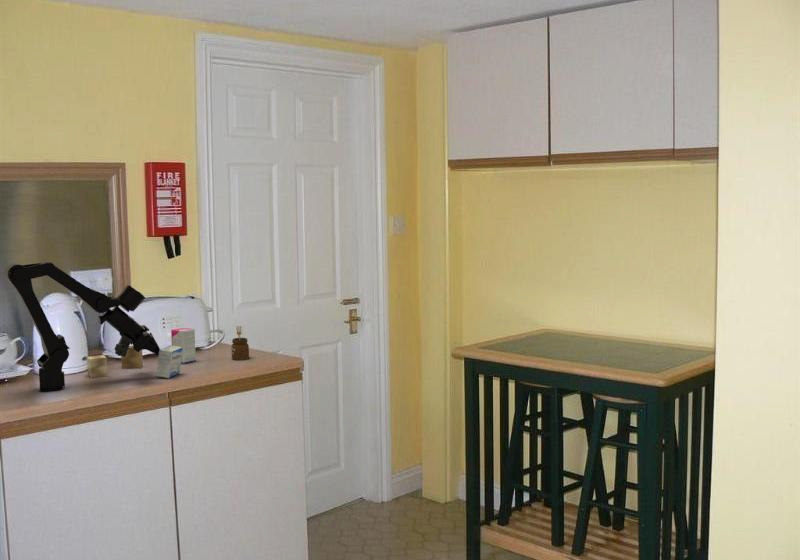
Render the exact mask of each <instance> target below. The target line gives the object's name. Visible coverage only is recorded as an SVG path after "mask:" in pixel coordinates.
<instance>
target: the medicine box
mask: <svg viewBox="0 0 800 560" xmlns="http://www.w3.org/2000/svg"><path fill="white" fill-rule="evenodd" d="M182 350H183V348H182V347H178V346H172V344H171V345H168V346H165V347H163V348H160V350H159V356H158V355H157V356H158V357H157V363H156V364H157V365H156V374H155V375H156V376H157V377H160V378H164V379H165V378H166V379H170V378H173V377H174V376H176V375H178V374H180V372H181V365H182V364H181V358H182Z"/></svg>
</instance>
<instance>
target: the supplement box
mask: <svg viewBox="0 0 800 560" xmlns="http://www.w3.org/2000/svg"><path fill="white" fill-rule="evenodd" d="M195 331H196V330H195V328H187V327H186V328H185V327H182V328H176V329H175V328H174V329H171V331H170V332H171V333H170V334H171V345H172V346H178V347H182V348H183V350H182V358H181V365H186V364H185V363H187V364H190V362H191V363H195V362H197V361H196V359H197V358H196V357H197V356H196V335H195V334H196V332H195Z"/></svg>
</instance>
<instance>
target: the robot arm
mask: <svg viewBox="0 0 800 560" xmlns="http://www.w3.org/2000/svg"><path fill="white" fill-rule="evenodd" d="M45 276H46V277H48V278H49V279H50V280H52V281H54V282H55V283H57V284H59V285H60V286H62V287H63V288H64V289H66V290H67V291H69V292H71V293H72V294H74V295H75V296H77V298H78V299H80V300H81V301H82V302H83V303H84V305H86V306H87V307H88V309H90V310H92V311H94V312H96V313H97V314H98V313H99V314H102V315H98V316H97V318H98V324H99V325H100V326H101V325H103V324H104V323H105V322H106V323H107V324H109V325H110V326H111V327H112V328H114V329H115V330H116V331H117V332H118V333H119V336H120V339H119V340H118V343H116V344H115V347H114V350H115V351H114V354H115V355H116V356H119V357H121V356H123V357H125V356H126V354H127V353H126V352H127V350H128V348H129V346H133V349H134V350H136V351H137V352H139V351H140V350H142V351H144V350H146V351H148V352H149V353H150V352H151V353H153V354H155V355H156V356H159V350H160V349H161V348H160V346H159V344H158V343H157V341H156V339H155V337H154V335H153V333H152V332H149V331H150V328H149V327H147V325H145V324H142V325H141V324H139V322H137V321H136V320H135V319H134V318H133V317H131V316H130V315H128V313H129V312H135V310H137V308H138V307H140V306H141V304H142V303H143V302H144V301H145V299H146V297H145V295H143V294H142V293H141V292H140V291H139V290H136V289H135V288H134V287H133V286H131V285H130V284H127V285H126V286H125V287H124V289H122V291H121V292H120V293H119V294H118V295H117V297H115V296H108V295H106V294H104V293H102V292H100V291H98V290H95V289H93V288H90V287H88V286H86V285H85V284H83V283H81V282H80V281H78V280H77V279H76V278H74V277H72V276H71V275H69V274H68V273H66V272H65V271H63V270H62V269H60V268H59V267H58V266H56V265H55V264H54V263H53V262H50V261H47V260H46V261H45V260H44V261H41V262H38V263H37V262H36V263H28V264H27V263H26V264H19V263H17V262H16V263H15V262H13V263H9V264H8V265H7V266H6V267H5V268H4V271H3V277H4V278H5V280H6V281H7V282H8V284H9V285H10V286H11V288H12V289H13V290H14V292H15V293H17V294H18V296H19V298H20V299H21V301H22V304H23V305H24V308H25V309H26V311H27V313H28V316H29V317H30V320H31V321H32V324H33V326H34V328H35V329H36V331H37V333H38V335H39V337H40V343H41V349H42V350H43V353H42V355H41V356H39V358H38V359H37V360H36V363H37V365H38V367H39V369H38V380H39V389H38V392H49V391H52V392H53V391H60V390H61V391H62V390H64V387H65V386H66V379H65V372H64V370H63V366H64V364H65V362H66V361H68V359H69V356H70V352H69V350H70V349H71V347H69V346H68V344H67V342H66V339H65V336H63V335H61V334H56V333H55V332H54V329H53V328H52V326H51V324H50V322H49V320H48V318H47V316H46V314H45V311H44V310H43V308H42V306H41V304H40V301H39V300H38V297H37V296H36V294H35V291H34V289H33V282H32V280H33V279H37V278H41V277H45ZM120 307H121V308H122V309H121V308H120ZM125 311H126V312H127V313H126V312H125Z"/></svg>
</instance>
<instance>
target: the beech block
mask: <svg viewBox="0 0 800 560" xmlns="http://www.w3.org/2000/svg"><path fill="white" fill-rule="evenodd" d="M86 359H87V360H86V361H87V362H86V363H87V376H88V375H89V376H90V377H89V376H88V377H89V378H90V379H93V378H92V377H94V378H101V376H103V377H108V363H107V357H106V356H105V355H104V354H101V355H89V356H87V357H86Z"/></svg>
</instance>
